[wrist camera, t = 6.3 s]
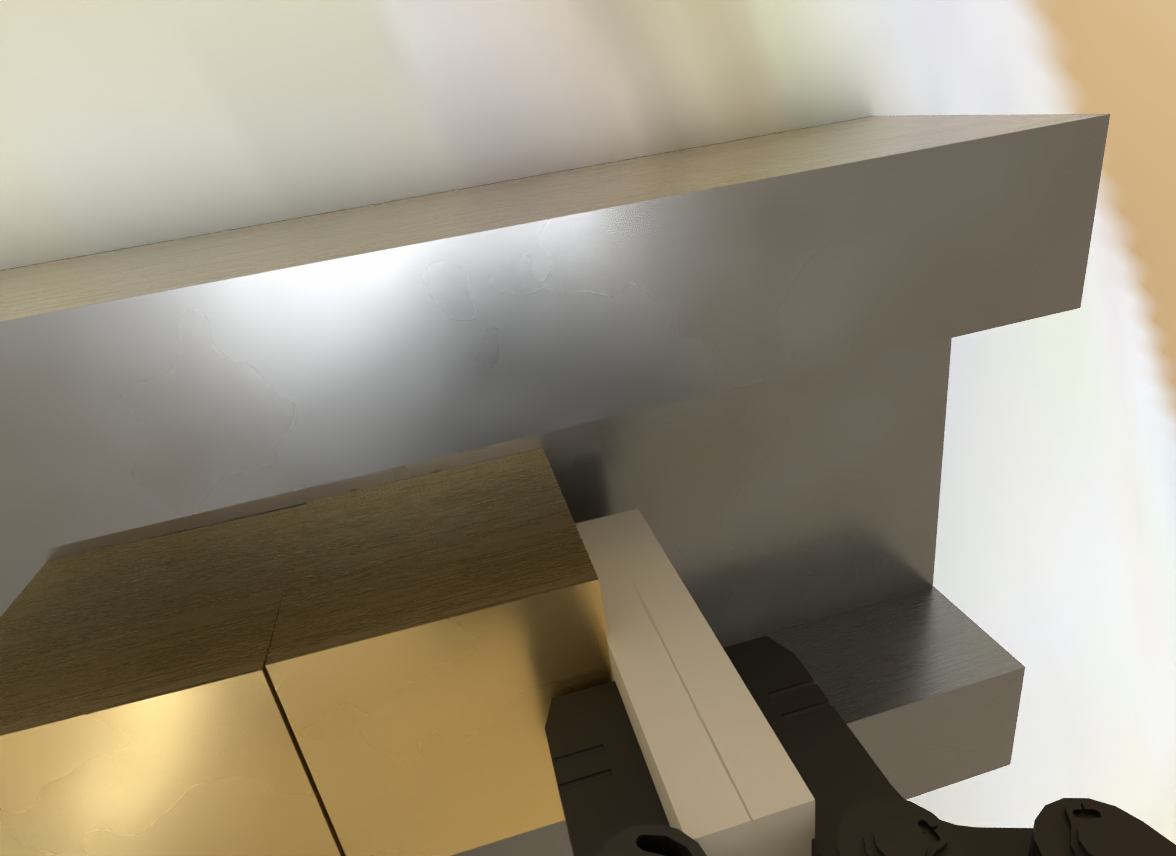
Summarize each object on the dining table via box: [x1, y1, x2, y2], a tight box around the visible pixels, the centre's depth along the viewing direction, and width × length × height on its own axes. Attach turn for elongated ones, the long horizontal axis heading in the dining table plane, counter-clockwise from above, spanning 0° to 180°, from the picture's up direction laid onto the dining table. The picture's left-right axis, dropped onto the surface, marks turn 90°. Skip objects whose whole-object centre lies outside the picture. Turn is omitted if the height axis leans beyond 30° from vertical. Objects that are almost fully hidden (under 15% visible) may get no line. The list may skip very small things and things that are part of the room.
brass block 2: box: [265, 448, 613, 856], centre depth 13 cm, size 4×4×4 cm
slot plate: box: [0, 114, 1110, 856], centre depth 15 cm, size 20×14×6 cm
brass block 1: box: [0, 504, 346, 856], centre depth 12 cm, size 4×4×4 cm
